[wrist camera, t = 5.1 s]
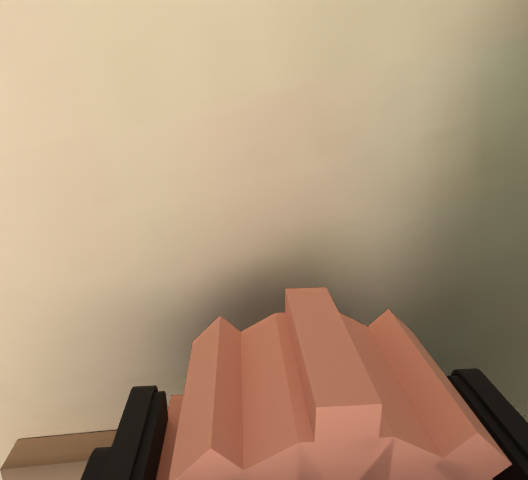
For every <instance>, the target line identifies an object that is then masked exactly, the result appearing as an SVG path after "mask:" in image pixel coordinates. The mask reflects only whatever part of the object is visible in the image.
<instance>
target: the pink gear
mask: <svg viewBox="0 0 528 480" xmlns="http://www.w3.org/2000/svg"><path fill="white" fill-rule="evenodd" d="M510 465H512V463H511V462H510V461H509V459H508V458H507V457H506V455H505V454H504V453H503V451H502V450H501V449H500V447H499V446H498V445H497V443H496V442H495V441H494V439H493V438H492V437H491V435H490V434H489V433H488V431H487V430H486V429H485V427H484V426H483V425H482V423H481V422H480V421H479V419H478V418H477V417H476V415H475V414H474V413H473V411H472V410H471V409H470V408H469V406H468V405H467V404H466V402H465V401H464V400H463V398H462V397H461V396H460V394H459V393H458V392H457V390H456V389H455V388H454V386H453V385H452V384H451V382H450V381H449V380H448V378H447V377H446V376H445V374H444V373H443V372H442V370H441V369H440V368H439V366H438V365H437V364H436V362H435V361H434V360H433V358H432V357H431V356H430V354H429V353H428V352H427V350H426V349H425V348H424V346H423V345H422V344H421V342H420V341H419V340H418V339H417V337H416V336H415V335H414V333H413V332H412V331H411V330H410V329H409V328H408V327H407V326H406V325H405V324H404V323H403V322H402V321H401V320H399V319H398V318H397V317H396V316H395V315H394V314H393V313H392V312H391V311H390V310H389V309H387V310H386V311H385V312H384V313H383V314H382V315H381V316H379V317H378V318H377V319H376V320H375V321H374V322H372V323H371V324H370V325H369V326H366V325H364V324H362V323H359V322H357V321H355V320H353V319H351V318H349V317H347V316H345V315H343V314H341V313H339V312H338V310H337V308H336V306H335V304H334V302H333V300H332V298H331V295H330V293H329V291H328V289H327V287H316V288H288V289H285V313H274V314H272V315H270V316H269V317H267V318H265V319H263V320H261V321H259V322H258V323H256V324H254V325H252V326H250V327H249V328H247V329H245V330H243V331H241V332H240V331H239V330H238V329H236V328H235V327H234V326H233V325H232V324H230V323H229V322H228V321H227V320H225V319H224V318H223V317H222V316H219V317H218V318H217V319H216V320H215V321H214V322H213V323H212V324H211V325H210V326H209V327H208V328H207V329H205V330H204V331H203V332H202V333H201V334H200V335H199V336H198V337H197V338H196V339H195V340H194V341H193V343H192V349H191V355H190V360H189V366H188V372H187V378H186V383H185V389H184V395H171V399H170V403H169V408H168V423H167V428H166V433H165V438H164V443H163V448H162V453H161V458H160V463H159V468H158V473H157V478H156V480H493V479H492V478H494V477H495V476H496V475H498V474H499V473H501V472H502V471H503V470H505V469H506V468H508V467H509V466H510Z"/></svg>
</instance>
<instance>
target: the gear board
mask: <svg viewBox="0 0 528 480" xmlns="http://www.w3.org/2000/svg"><path fill="white" fill-rule="evenodd" d="M116 432H117V430H114V431H103V432H92V433H82V434H71V435H61V436H50V437H40V438H29V439H18V440H17V442H16V443H15V445H14V447H13V449H12V450H11V452H10V454H9V455H8V457H7V459H6V461H5V462H4V464H3V466H2V467H1V469H0V471H1V475H2V478H3V480H81V477H82V475H83V472H84V470H85V467H86V465H87V462H88V460H89V457H90V455H91V453H92V451H93V450H94V449H95V448H98V447H111V446H112V444H113V441H114V438H115V435H116Z"/></svg>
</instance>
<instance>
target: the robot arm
mask: <svg viewBox="0 0 528 480" xmlns="http://www.w3.org/2000/svg"><path fill="white" fill-rule="evenodd" d="M447 378H448V380H449V381H450V382H451V384H452V385H453V386H454V388H455V389H456V390H457V392H458V393H459V394H460V396H461V397H462V398H463V400H464V401H465V402H466V404H467V405H468V406H469V408H470V409H471V410H472V411H473V413H474V414H475V415H476V417H477V418H478V419H479V421H480V422H481V423H482V425H483V426H484V427H485V429H486V430H487V431H488V433H489V434H490V435H491V437H492V438H493V439H494V441H495V442H496V443H497V445H498V446H499V447H500V449H501V450H502V451H503V453H504V454H505V455H506V457H507V458H508V459H509V461H510V462H511V463H512V465H510V466H509V467H508V468H506V469H505V470H503V471H502V472H501V473H499V474H498V475H496V476H495V477H494V478H492V479H493V480H528V423H527V422H526V421H525V420H524V418H523V417H522V416H521V415H520V414H519V413H518V412H517V411H516V410H515V408H514V407H513V406H512V405H511V404H510V403H509V402H508V401H507V400H506V398H505V397H504V396H503V395H502V394H501V393H500V392H499V391H498V390H497V388H496V387H495V386H494V385H493V384H492V383H491V382H490V381H489V380H488V378H487V377H486V376H485V375H484V374H483V373H482V372H481V371H480V370H479V369H457V370H453V372H452V373H451V376H447ZM167 423H168V411H167V401H166V393H165V391H159V392H158V388H157V386H156V385H155V386H136V387H133V388H132V389H131V392H130V395H129V398H128V400H127V403H126V406H125V409H124V412H123V415H122V418H121V421H120V423H119V426H118V429H117V432H116V435H115V438H114V441H113V444H112V446H111V447H98V448H95V449H94V450H93V451H92V453H91V455H90V457H89V460H88V462H87V465H86V467H85V470H84V472H83V475H82V477H81V480H156V478H157V473H158V468H159V463H160V458H161V453H162V448H163V443H164V438H165V433H166V428H167Z"/></svg>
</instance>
